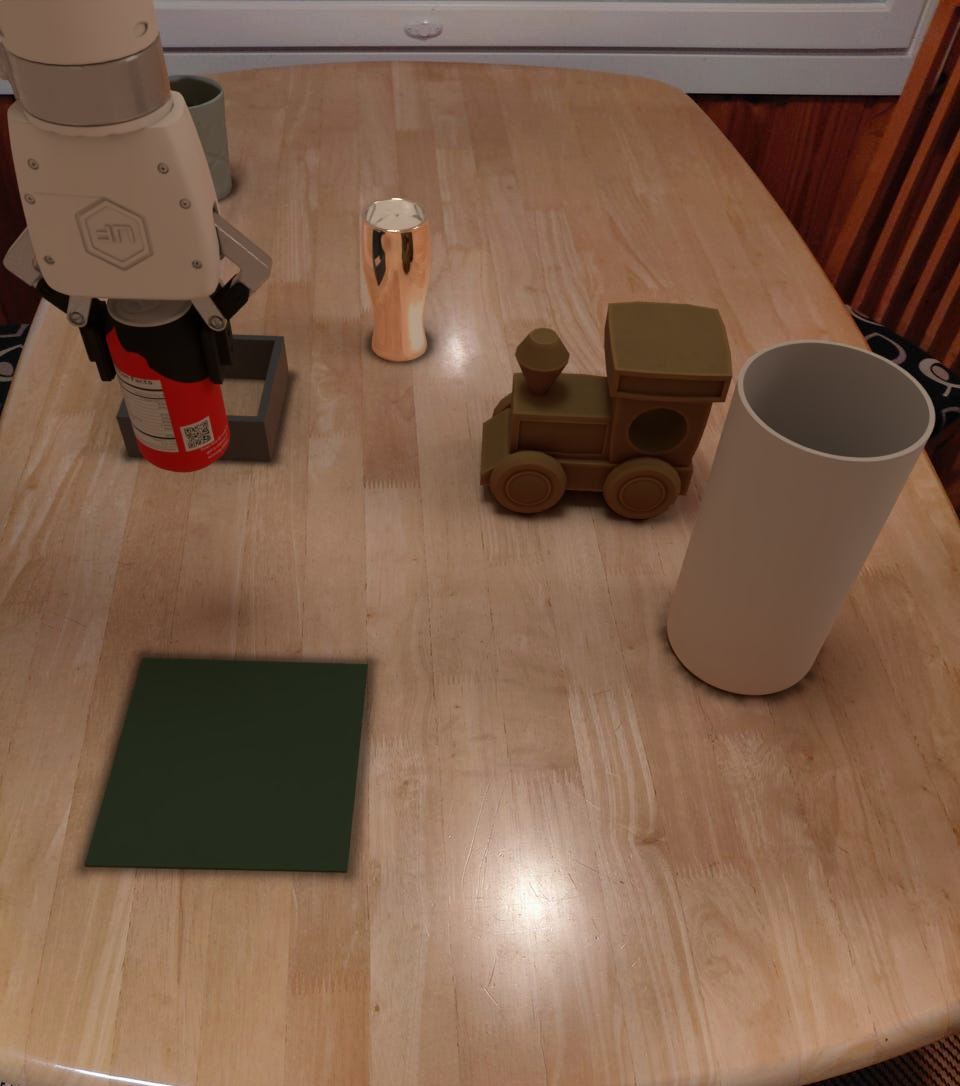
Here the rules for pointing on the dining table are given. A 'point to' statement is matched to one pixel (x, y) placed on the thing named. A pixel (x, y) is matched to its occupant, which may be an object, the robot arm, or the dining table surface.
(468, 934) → the dining table surface
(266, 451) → the box
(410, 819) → the dining table surface
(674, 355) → the wooden toy train
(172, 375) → the beverage can
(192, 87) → the grey-green embossed pot
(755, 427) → the cylinder vase
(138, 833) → the mat
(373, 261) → the beer glass
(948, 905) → the dining table surface
